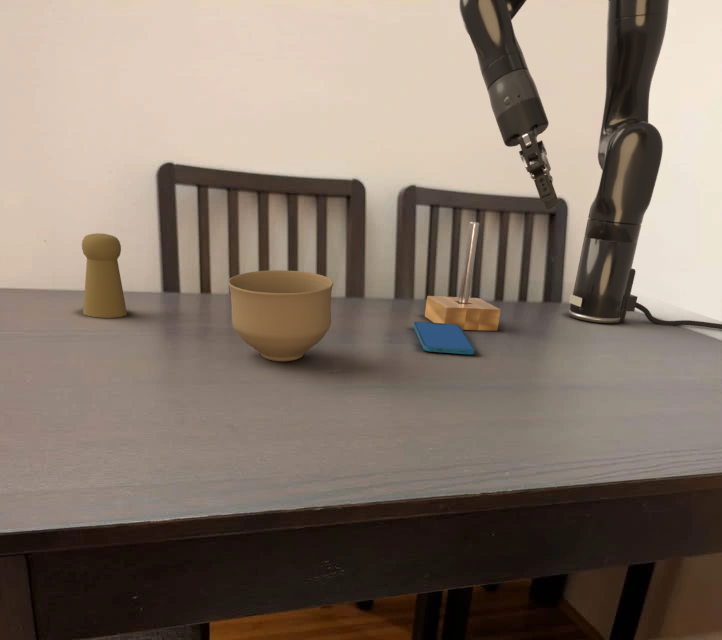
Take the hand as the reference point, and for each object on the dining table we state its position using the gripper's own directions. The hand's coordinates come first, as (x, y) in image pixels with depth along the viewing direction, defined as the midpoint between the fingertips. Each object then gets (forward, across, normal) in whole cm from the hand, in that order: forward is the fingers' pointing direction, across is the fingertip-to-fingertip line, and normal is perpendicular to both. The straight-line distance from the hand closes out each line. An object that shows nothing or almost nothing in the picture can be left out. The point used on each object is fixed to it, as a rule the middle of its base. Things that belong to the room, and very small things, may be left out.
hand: (550, 203), depth 120 cm
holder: (+13, -8, +19) cm, 25 cm away
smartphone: (+15, -23, +20) cm, 34 cm away
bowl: (+11, -47, +35) cm, 59 cm away
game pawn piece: (-6, -40, +61) cm, 74 cm away
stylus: (+13, -8, +19) cm, 25 cm away
